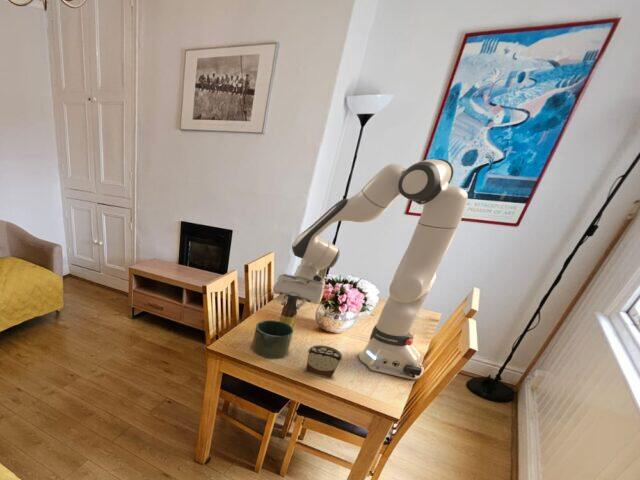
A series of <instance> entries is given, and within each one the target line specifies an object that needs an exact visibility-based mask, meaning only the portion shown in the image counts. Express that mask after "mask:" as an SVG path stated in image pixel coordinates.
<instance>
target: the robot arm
mask: <svg viewBox="0 0 640 480" xmlns="http://www.w3.org/2000/svg"><path fill="white" fill-rule="evenodd" d="M453 177H454V167H453V165H452V164H451V163H450V162H449V161H448V160H446V159H442V158H436V159H435V158H431V159H425V160H422V161H419V162H415V163H414V164H412V165H410V166H409V167H408V168H405V167H404V166H403V165H400V164H396V163H391V164H388V165H386V166H384V167H382V169H381V170H379V171H378V172H377V173H376V174H375V175H374V176H372V178H371V179H370V180H369V181H368V182H367V183H366V184H365V185H364V186H363V188H361V190H359V191H358V193H356V194H355V195H353V196H351V197H349V198H343V199H341V200H339V201H338V202H336V203H335V204H334V205H333V206H331V207H330V208H329V209H328V210H327V211H326V212H325V213H324V214H322V216H320V217H319V218H318V219H317V220H316V221H314V223H312V224H311V225H310V226H309V227H308V228H307V229H305V230H304V231H302V232H301V233H300V234H299V235H297V236H296V237H295V239H294V241H293V242H292V245H291V251H292V253H293V255H294V256H295V257H298V258H299V259H300V264H299V265H298V266H297V268H296V270H295V272H294V274H287V273H282V274H279V276H278V277H277V279H276V282H275V284H274V285H273V287H272V291H273V293H274V294H276V295H279V296H281V299H282V300H281V302H280V305H281V306H283V307H284V306H285V305H286V304H287V300H285V299H286V298H288V294H289V293H291V292H294V293H297V294H298V298H297V301H298V300H299V301H302V302H300V303H296V309H297V311H298V310H301V308H302V307H303V306H304V305H306V303H311V304H314V305H319V304H320V303H321V302H322V299H323V298H324V297H323V296H324V292H325V291H324V290H325V287H326V280H325V277H324V278H322V277H320V276H319V275H318V272H319V270H325V269H326V270H329V269H331V268H333V267H334V266H335V265H336V263H337V262H338V260H339V259H340V258H339V257H340V254H341V253H340V247H338V246H336V245H335V244H333V243H331V242H330V241H327V240H326V239H324V238H322V237H320V234H323V232H324V231H326V229H327V228H329V227H330V226H331V225H333V224H335V223H337V222H353V223H367V222H372V221H374V220H376V219H378V218H379V217H381V215H382V214H383V213H384V212H385V211H386V210H387V209H388V208H389V207H390V206H391V205H392V204H393V202H395V201H396V200H397V199H398V198H399V197H400V196H402V197H404V198H405V199H407V200H409V201H412V202H414V203H415V204H418V205H422V207H423V208H422V210H421V213H420V216H419V219H418V221H417V224H416V227H415V229H414V231H413V233H412V235H411V238H410V241H409V243H408V246H407V248H406V250H405V252H404V253H403V256H402V258H401V260H400V262H399V264H398V266H397V268H396V271H395V272H394V274H393V277H392V278H391V281H390V284H389V287H388V288H389V291H388V292H389V296H388V298H387V300H386V301H385V304H384V306H383V307H382V310H381V312H380V315H379V318H378V320H377V322H376V324H375V325H374V326H373V328H372V330H371V332H370V335H369V340H368V342H367V344H366V345H365V347H364V348H363V350H362V351H361V352H360V353H359V354H358V358H359V360H360V361H361V362H362V363H363V364H365V365H366V366H367V367H368V368H369V369H370V370H371V371H373V372H377V373H382V374H386V375H390V376H396V377H398V378H399V377H400V378H404V379H408V380H412V381H413V380H414V381H416V380H419V379H421V377H422V376H423V374H424V370H425V367H424V365H423V364H422V363H421V362H422V361H421V359H422V356H421V352H420V351H419V350H418V349H417V348H416V347H415V346H414V345H413V343H414V340H413V339H414V333H411V332H410V331H411V329H412V327H413V325H414V323H415V320H416V318H417V316H418V314H419V313H420V310H421V308H422V307H423V304H424V303H425V300H426V299H427V296H428V295H429V293H430V291H431V289H432V286H433V285H434V282H435V281H436V278H437V271H438V269H439V267H440V265H441V263H442V261H443V259H444V257H445V255H446V253H447V251H448V249H449V247H450V246H451V243H452V241H453V239H454V237H455V234H456V232H457V230H458V229H459V226H460V224H461V220H462V218H463V216H464V213H465V210H466V207H467V203H468V197H469V196H468V192H467V191H466V190H465V189H464V188H463V187H461V186H455V185H451V184H450V183H451V181H452V180H453Z"/></svg>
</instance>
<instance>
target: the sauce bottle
mask: <svg viewBox="0 0 640 480" xmlns="http://www.w3.org/2000/svg"><path fill="white" fill-rule="evenodd" d="M297 298H298V294H297V293H294V292H291V293H289V294H288V297H287V300H286V304H285V306H284V305H283V307H282V310H281V313H280V316H279V322H283V323H285V324H288V325H289V326H291V327H292V329H293V330H294V327H295V323H296V318H297V315H298V309H296V306H297V302H298V299H297Z"/></svg>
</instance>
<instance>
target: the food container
mask: <svg viewBox="0 0 640 480" xmlns="http://www.w3.org/2000/svg"><path fill="white" fill-rule="evenodd" d="M306 354H308V355H307V359H306V365H305V371H304V372H305V373H308V374H312V375H316V376H319V377H323V378H327V379H329V380H331V379H332V378H333V376H334V374H335V372H336V370H337V369H338V366H339V364H340V363H342V362H343V354H342V352H341V351H339V350H338V349H336V348H334V347H332V346H328V345H323V344H321V345H313V346H311V347H310V348H309V349H308V350H307V351H306Z"/></svg>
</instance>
